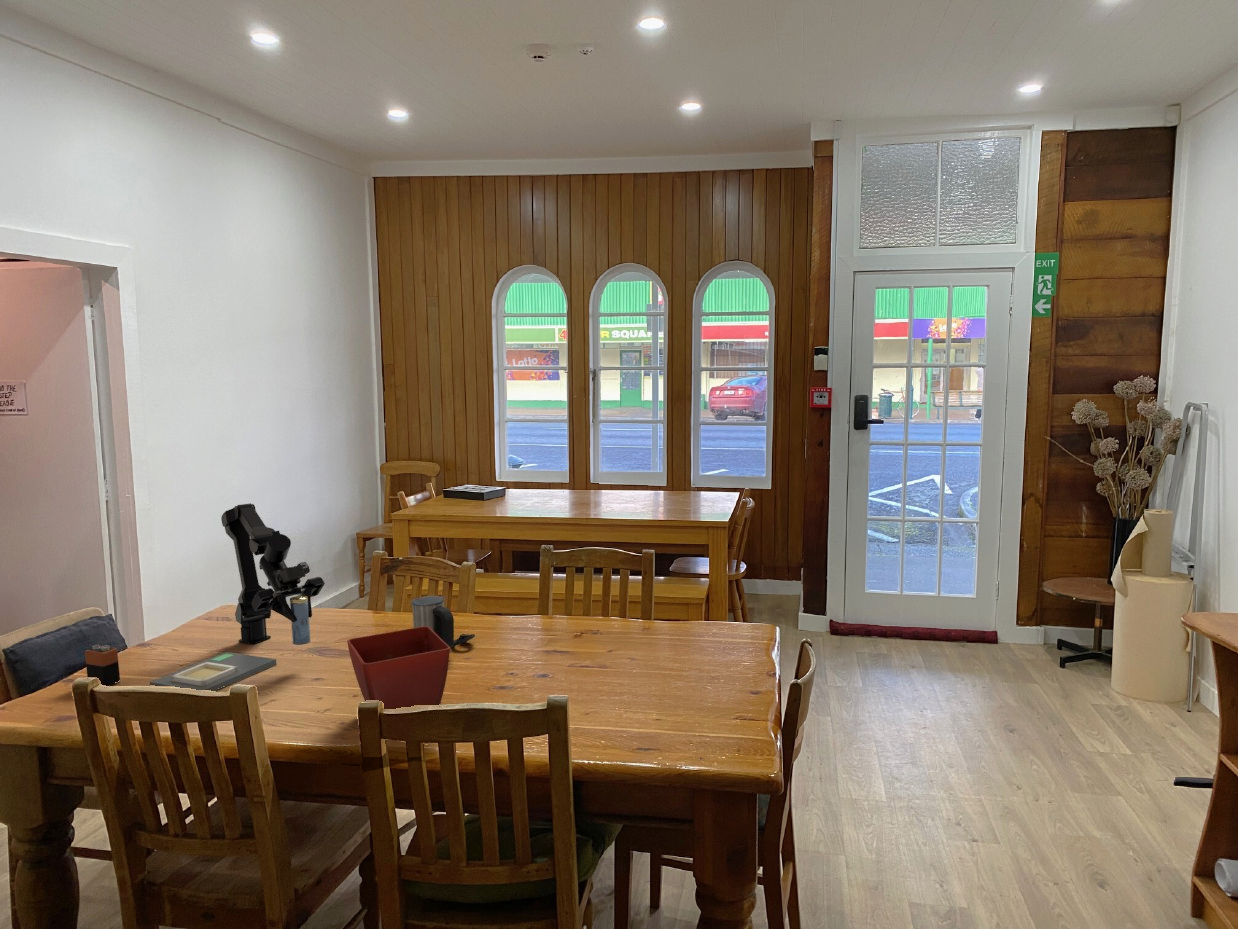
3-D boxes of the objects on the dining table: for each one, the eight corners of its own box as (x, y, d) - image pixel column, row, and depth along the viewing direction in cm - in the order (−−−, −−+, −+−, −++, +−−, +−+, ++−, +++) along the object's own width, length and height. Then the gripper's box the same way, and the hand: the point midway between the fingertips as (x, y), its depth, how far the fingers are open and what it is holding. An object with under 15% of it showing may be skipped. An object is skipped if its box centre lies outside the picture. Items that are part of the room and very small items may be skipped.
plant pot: (367, 739, 186) (362, 663, 184) (350, 709, 202) (346, 638, 200) (454, 720, 194) (451, 647, 192) (431, 692, 211) (428, 625, 209)
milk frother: (406, 655, 239) (403, 602, 237) (439, 638, 253) (436, 588, 251) (450, 661, 233) (448, 607, 232) (481, 642, 248) (479, 592, 246)
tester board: (226, 657, 241) (225, 647, 240) (276, 664, 234) (275, 654, 233) (149, 687, 219) (149, 677, 219) (202, 697, 212) (201, 686, 211)
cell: (302, 638, 233) (299, 595, 232) (314, 641, 231) (311, 596, 230) (289, 643, 229) (286, 599, 228) (301, 645, 227) (298, 601, 226)
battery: (105, 688, 219) (101, 650, 218) (87, 685, 222) (83, 647, 221) (121, 682, 223) (117, 644, 222) (103, 679, 226) (99, 642, 225)
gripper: (254, 561, 223) (280, 610, 217) (318, 547, 237) (345, 593, 232) (240, 586, 228) (265, 634, 223) (304, 571, 243) (329, 616, 237)
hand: (302, 619), depth 229 cm, fingers closed on cell, 4 cm apart
